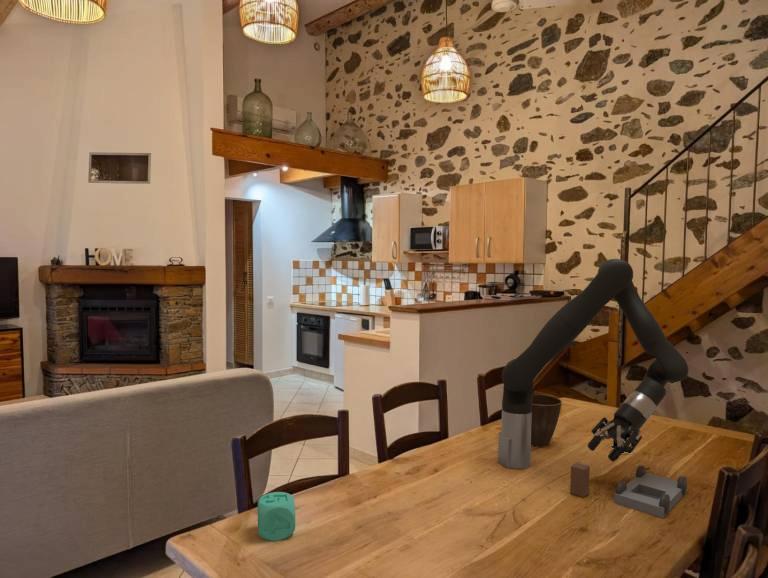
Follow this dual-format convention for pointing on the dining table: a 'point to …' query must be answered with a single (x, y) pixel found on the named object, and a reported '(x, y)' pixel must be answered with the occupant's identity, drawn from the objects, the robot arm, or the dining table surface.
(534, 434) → the plant pot
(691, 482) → the dining table surface
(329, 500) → the dining table surface
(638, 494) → the chassis
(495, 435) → the dining table surface
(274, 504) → the decorative dice
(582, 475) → the wooden block
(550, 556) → the dining table surface
